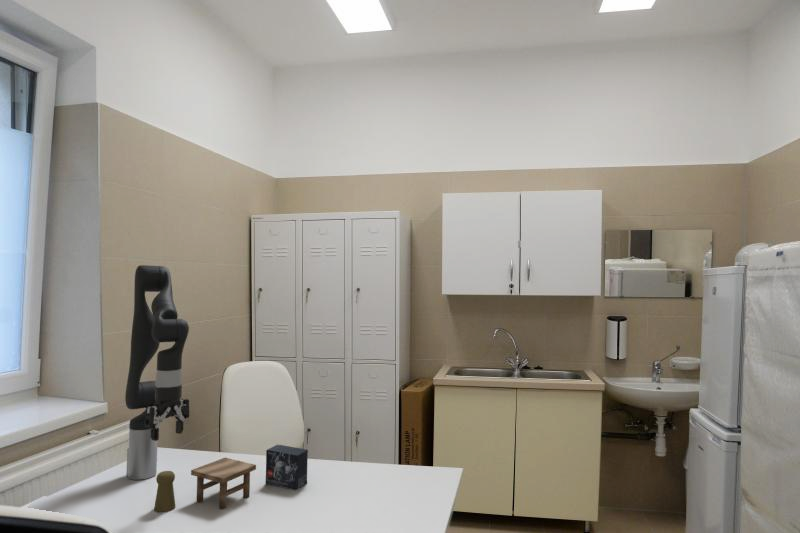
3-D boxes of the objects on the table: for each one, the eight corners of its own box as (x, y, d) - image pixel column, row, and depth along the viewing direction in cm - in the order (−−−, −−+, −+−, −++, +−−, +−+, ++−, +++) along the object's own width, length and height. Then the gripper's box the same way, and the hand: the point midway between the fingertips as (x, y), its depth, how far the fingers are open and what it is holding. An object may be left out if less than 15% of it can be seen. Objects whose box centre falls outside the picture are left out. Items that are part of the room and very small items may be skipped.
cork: (167, 513, 158) (168, 476, 159) (149, 511, 160) (150, 474, 160) (179, 505, 164) (180, 469, 165) (162, 503, 166) (163, 467, 166)
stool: (190, 502, 167) (191, 470, 167) (224, 487, 179) (225, 457, 179) (222, 511, 160) (223, 478, 160) (255, 495, 172) (256, 464, 173)
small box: (264, 484, 182) (265, 449, 183) (276, 477, 189) (277, 444, 189) (297, 490, 177) (297, 454, 178) (307, 483, 184) (308, 449, 184)
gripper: (179, 379, 171) (178, 429, 171) (140, 386, 159) (138, 440, 158) (195, 381, 168) (194, 432, 167) (156, 389, 155) (155, 444, 155)
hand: (167, 436), depth 163 cm, fingers open, 8 cm apart
